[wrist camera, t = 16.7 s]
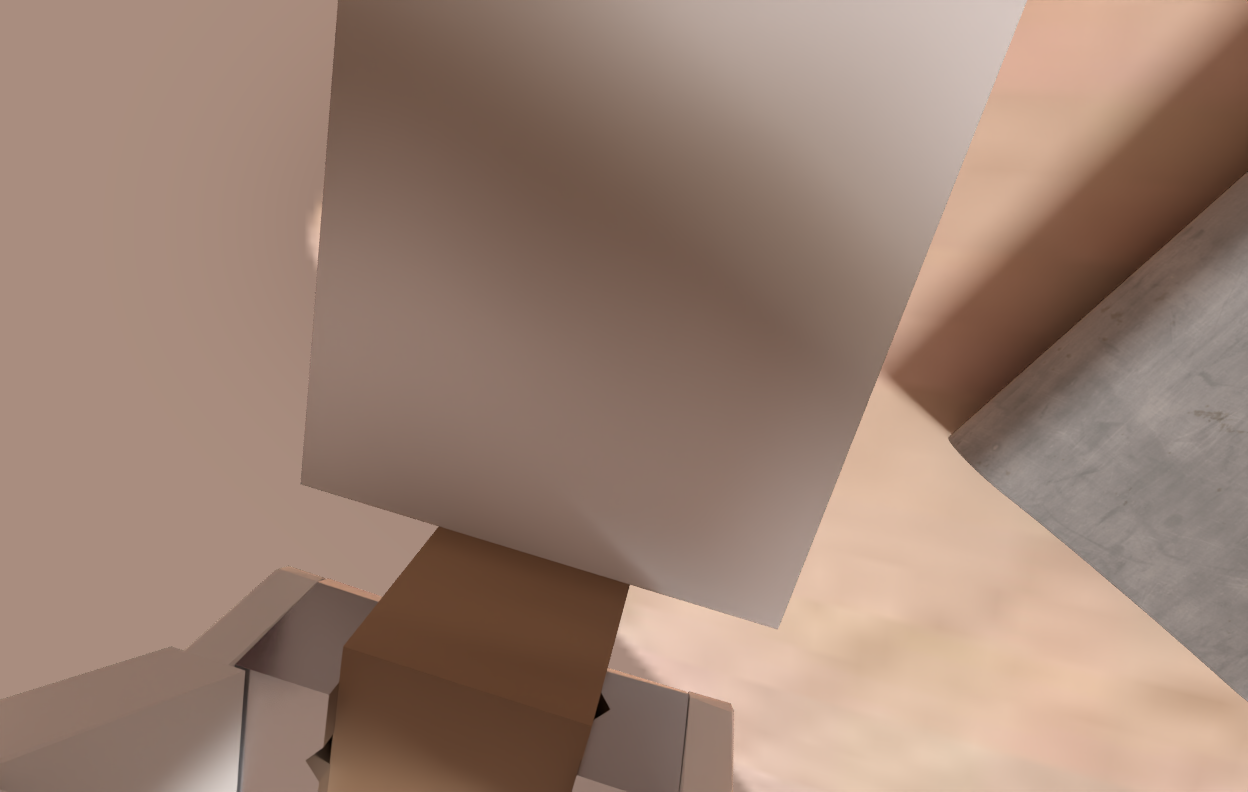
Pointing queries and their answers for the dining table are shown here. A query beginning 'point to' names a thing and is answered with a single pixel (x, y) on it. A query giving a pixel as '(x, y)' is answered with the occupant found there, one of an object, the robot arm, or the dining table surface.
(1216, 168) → the dining table surface
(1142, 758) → the dining table surface
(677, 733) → the robot arm
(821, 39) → the spatula
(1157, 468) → the hip flask
